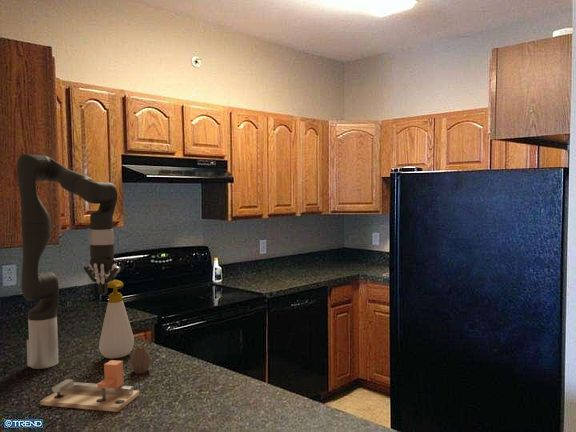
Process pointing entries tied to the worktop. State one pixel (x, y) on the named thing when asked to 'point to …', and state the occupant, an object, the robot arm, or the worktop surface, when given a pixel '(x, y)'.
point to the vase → (140, 360)
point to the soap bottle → (116, 326)
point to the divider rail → (90, 388)
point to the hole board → (89, 400)
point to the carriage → (112, 376)
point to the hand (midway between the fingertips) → (102, 294)
